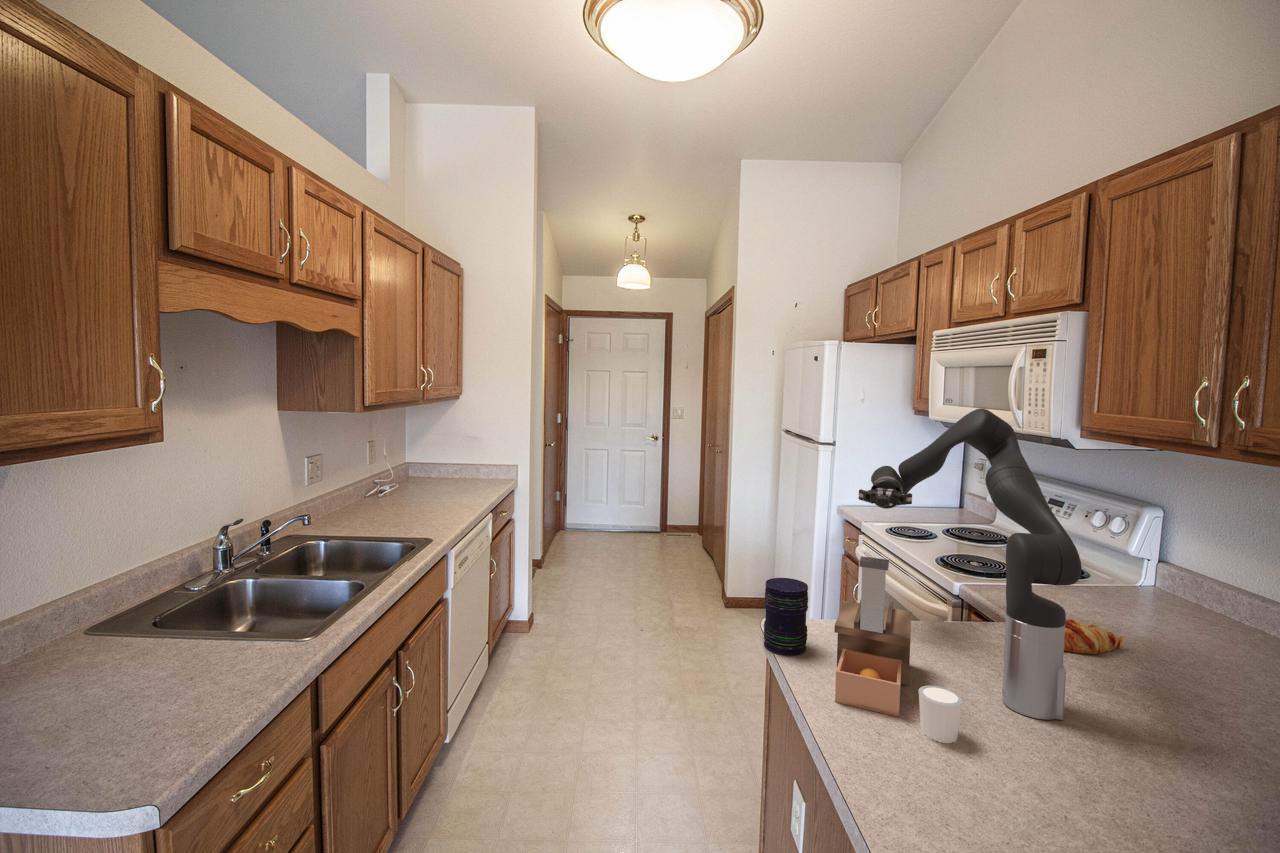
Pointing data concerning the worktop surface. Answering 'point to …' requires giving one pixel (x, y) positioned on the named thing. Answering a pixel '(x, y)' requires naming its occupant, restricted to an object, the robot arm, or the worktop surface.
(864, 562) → the grey metal tall block
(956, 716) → the white cylinder
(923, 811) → the worktop surface
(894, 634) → the shelf
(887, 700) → the orange open drawer
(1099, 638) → the croissant
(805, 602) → the dark blue ribbed barrel
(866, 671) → the ball
